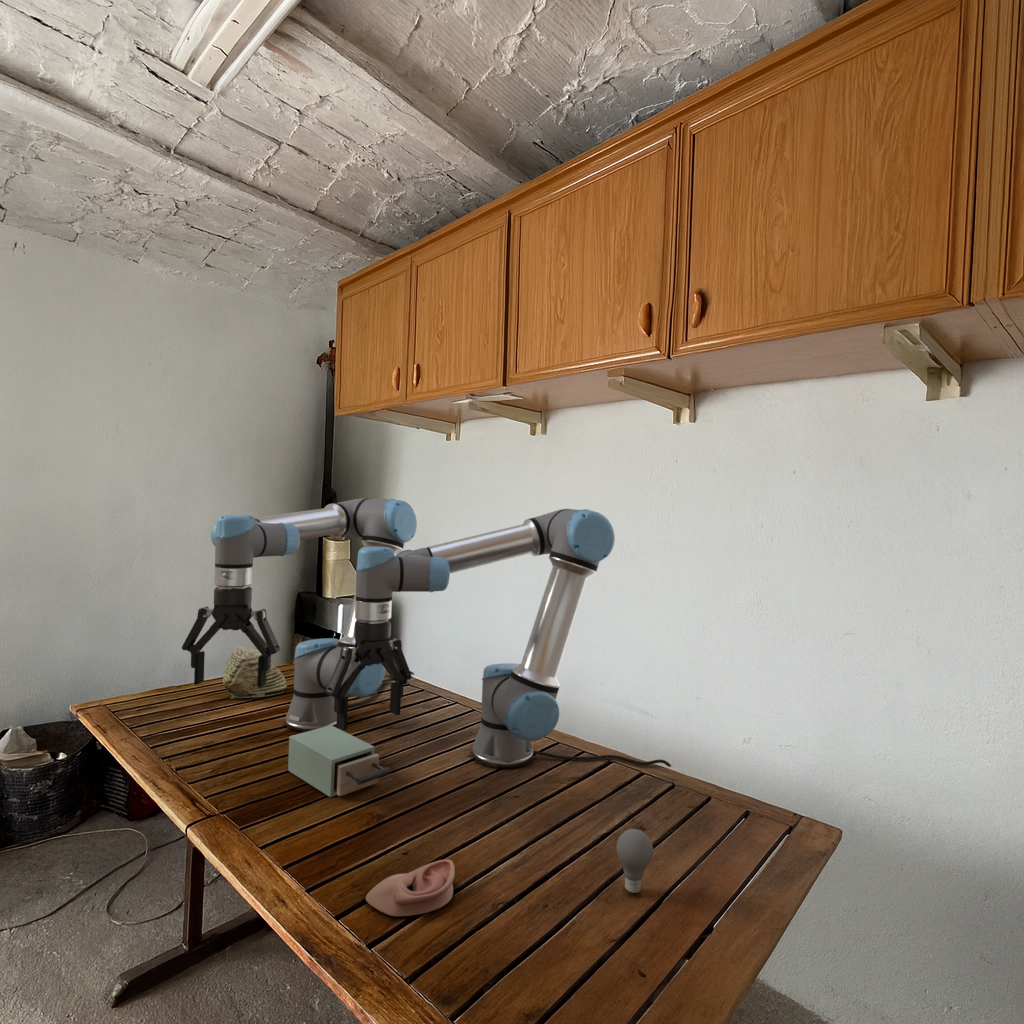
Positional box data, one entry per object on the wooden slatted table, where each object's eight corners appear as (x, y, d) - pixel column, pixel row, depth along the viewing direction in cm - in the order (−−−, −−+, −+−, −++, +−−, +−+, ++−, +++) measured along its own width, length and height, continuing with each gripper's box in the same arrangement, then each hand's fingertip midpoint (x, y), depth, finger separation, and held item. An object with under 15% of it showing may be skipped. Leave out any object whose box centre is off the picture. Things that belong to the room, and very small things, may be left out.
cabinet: (373, 781, 142) (374, 746, 142) (330, 797, 134) (331, 760, 134) (329, 757, 154) (331, 725, 154) (287, 770, 146) (289, 736, 145)
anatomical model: (357, 884, 98) (387, 845, 109) (356, 910, 98) (386, 868, 109) (440, 899, 95) (461, 857, 106) (439, 925, 95) (460, 881, 106)
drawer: (393, 790, 136) (394, 762, 136) (354, 805, 129) (355, 776, 129) (336, 759, 151) (337, 733, 151) (298, 771, 143) (299, 744, 143)
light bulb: (610, 879, 108) (613, 822, 108) (644, 879, 109) (647, 822, 109) (619, 902, 102) (622, 840, 102) (655, 901, 103) (658, 840, 103)
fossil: (218, 695, 195) (220, 647, 195) (278, 685, 208) (279, 640, 207) (228, 703, 189) (230, 653, 188) (289, 692, 201) (290, 645, 201)
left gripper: (166, 586, 133) (163, 686, 133) (284, 591, 133) (281, 691, 133) (184, 581, 140) (181, 676, 141) (296, 586, 140) (293, 681, 141)
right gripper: (330, 630, 122) (326, 740, 122) (429, 616, 140) (426, 712, 141) (310, 624, 127) (306, 729, 127) (408, 611, 145) (404, 703, 146)
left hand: (230, 684), depth 137 cm, fingers open, 13 cm apart
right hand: (369, 720), depth 134 cm, fingers open, 13 cm apart
